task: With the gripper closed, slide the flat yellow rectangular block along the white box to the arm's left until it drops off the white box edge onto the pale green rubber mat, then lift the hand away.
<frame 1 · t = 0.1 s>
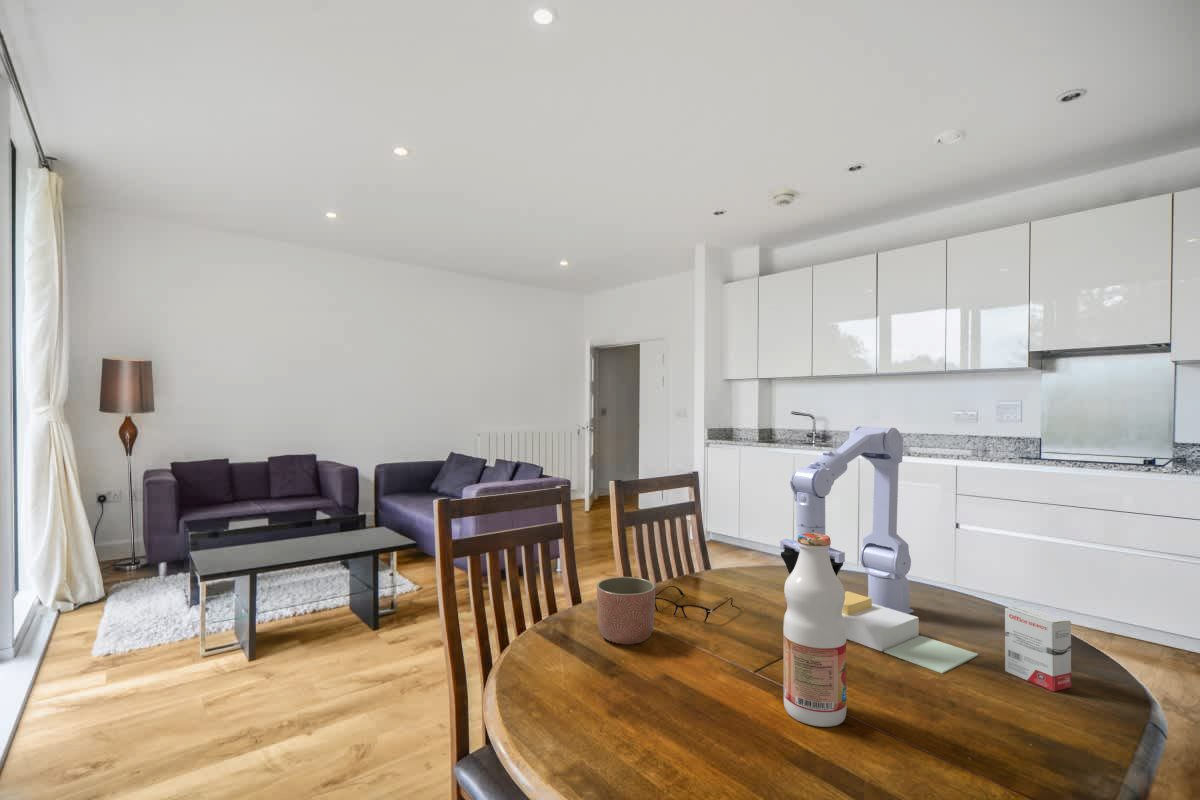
hand: (811, 589, 123), 10 cm above the table, fingers open, 7 cm apart
eyeglasses: (693, 610, 140), on the table
mat: (930, 653, 114), on the table
fruit juice: (814, 713, 92), on the table
planter: (625, 638, 122), on the table
yellow rectangular block: (847, 607, 129), point 4 cm above the table, touching white box
white box: (851, 626, 128), on the table
ink box: (1037, 680, 104), on the table
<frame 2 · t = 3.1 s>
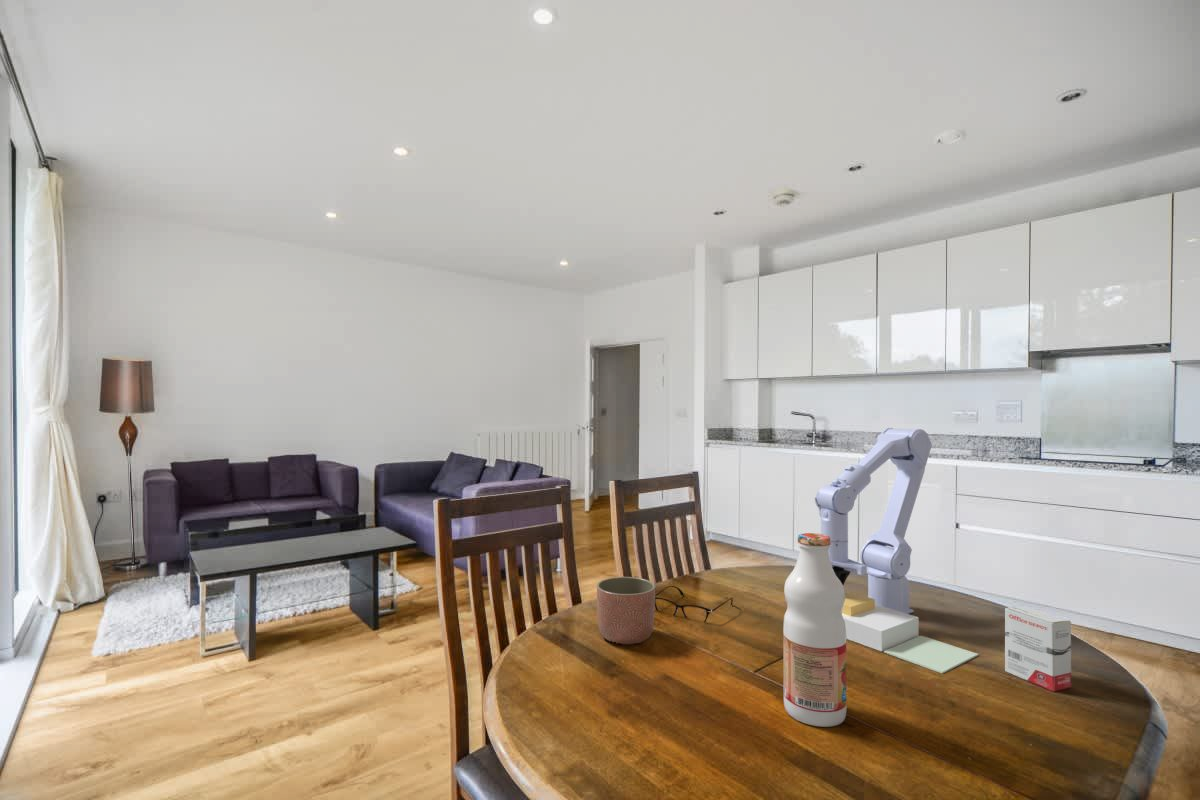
hand: (834, 599, 132), 5 cm above the table, fingers closed
nothing on the table moved.
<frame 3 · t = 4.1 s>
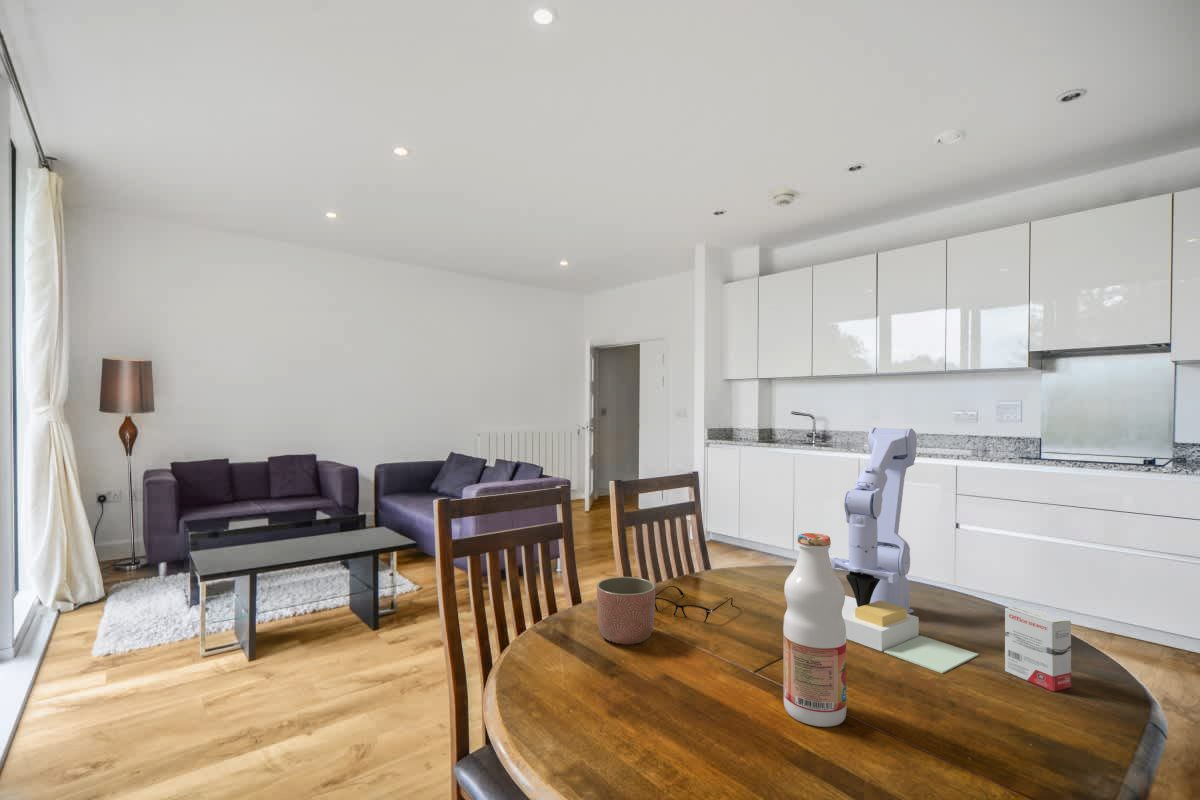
hand: (863, 608, 126), 5 cm above the table, fingers closed
yellow rectangular block: (880, 617, 123), point 4 cm above the table, touching white box, gripper
everything else where it was.
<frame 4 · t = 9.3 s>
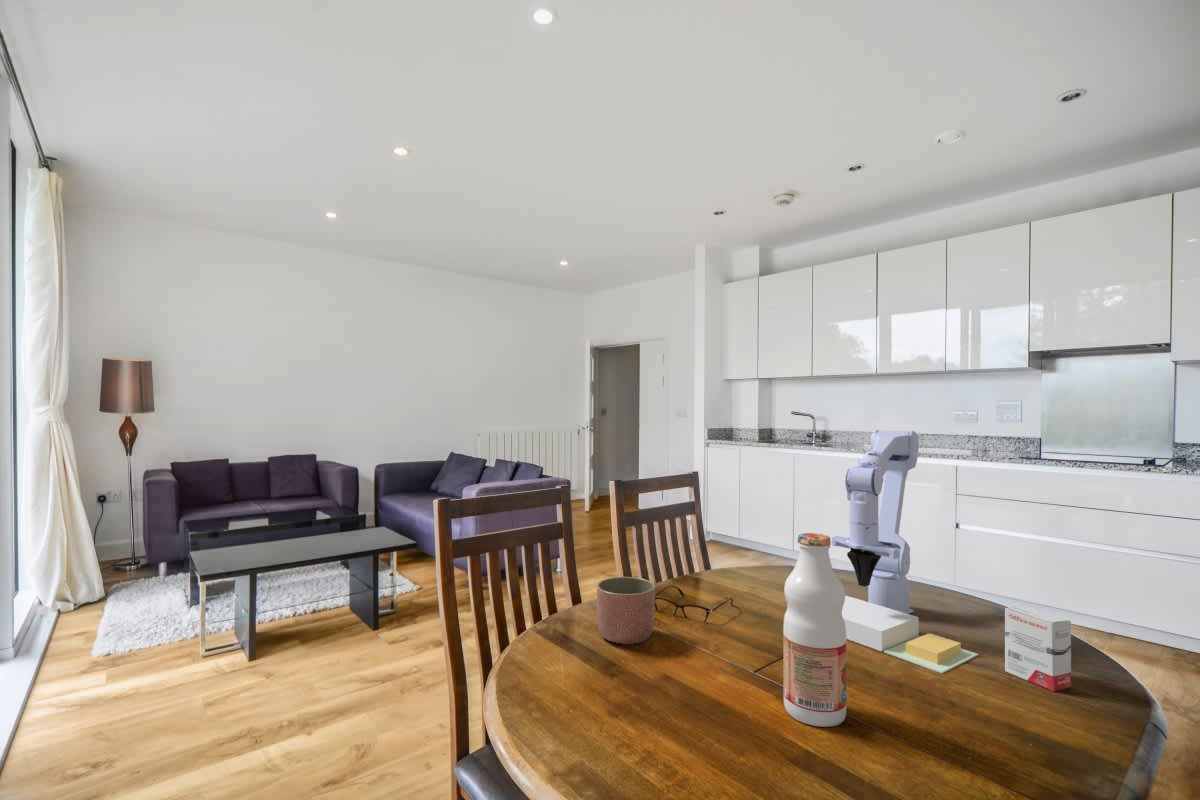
hand: (864, 585, 126), 10 cm above the table, fingers closed
yellow rectangular block: (933, 643, 114), point 2 cm above the table, tilted 180°, touching mat
everything else where it was.
at the end: yellow rectangular block point 2.3 cm above the table; yellow rectangular block inside the target area on the mat (0.5 cm from its centre), point 2.3 cm above the mat's base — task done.
